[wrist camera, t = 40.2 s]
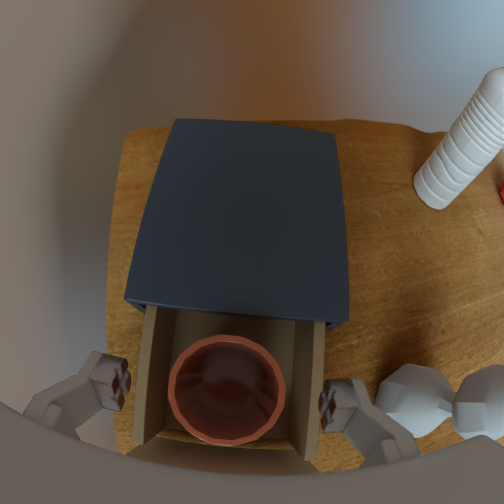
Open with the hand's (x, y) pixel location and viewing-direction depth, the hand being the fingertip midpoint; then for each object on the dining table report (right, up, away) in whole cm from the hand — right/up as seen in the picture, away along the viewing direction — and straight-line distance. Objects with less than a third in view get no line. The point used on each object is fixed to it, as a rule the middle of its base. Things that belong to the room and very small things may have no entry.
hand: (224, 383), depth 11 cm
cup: (-1, -6, +12) cm, 13 cm away
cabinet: (0, +5, +19) cm, 20 cm away
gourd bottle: (+16, -10, +14) cm, 23 cm away
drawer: (-1, -8, +12) cm, 15 cm away
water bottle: (+27, +13, +24) cm, 38 cm away
